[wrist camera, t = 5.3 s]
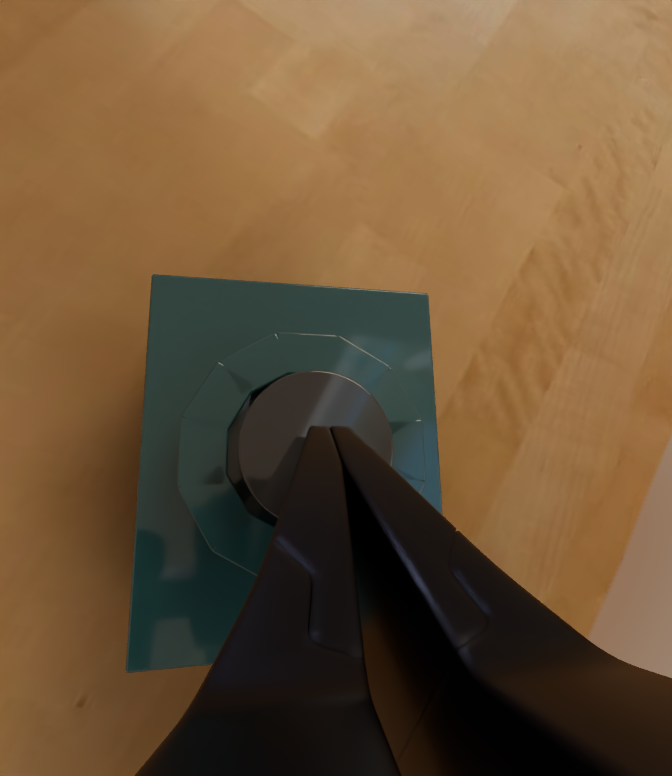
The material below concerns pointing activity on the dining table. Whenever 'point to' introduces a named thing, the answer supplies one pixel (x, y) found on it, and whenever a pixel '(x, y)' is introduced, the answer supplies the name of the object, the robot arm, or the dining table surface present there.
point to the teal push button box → (222, 428)
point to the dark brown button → (302, 428)
